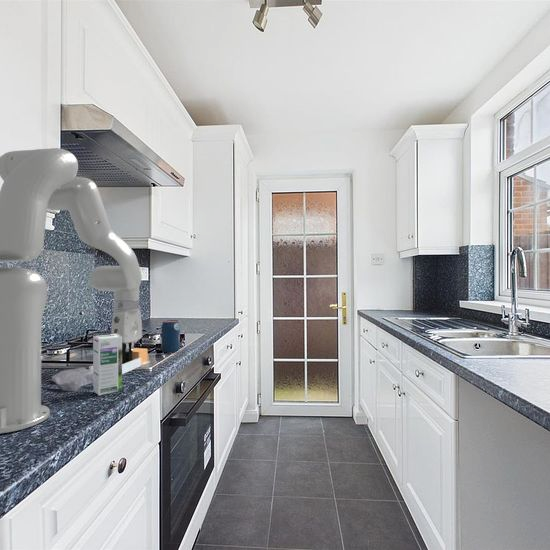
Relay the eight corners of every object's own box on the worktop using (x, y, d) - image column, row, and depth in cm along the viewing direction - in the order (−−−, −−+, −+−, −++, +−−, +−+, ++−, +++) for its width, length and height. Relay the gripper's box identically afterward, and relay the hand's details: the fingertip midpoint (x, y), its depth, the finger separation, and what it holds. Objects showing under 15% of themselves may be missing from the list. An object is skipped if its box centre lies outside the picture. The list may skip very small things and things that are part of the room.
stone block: (72, 400, 91) (107, 382, 99) (68, 383, 90) (103, 366, 99) (47, 394, 97) (82, 377, 105) (43, 377, 96) (78, 362, 105)
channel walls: (114, 380, 101) (114, 368, 101) (88, 378, 103) (88, 366, 103) (141, 368, 114) (141, 357, 114) (117, 367, 116) (117, 356, 116)
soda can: (183, 351, 139) (183, 321, 139) (167, 354, 134) (167, 322, 134) (173, 348, 144) (173, 319, 144) (157, 351, 139) (158, 321, 139)
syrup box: (98, 396, 88) (98, 338, 88) (92, 390, 93) (92, 334, 93) (122, 391, 92) (122, 335, 92) (115, 385, 97) (116, 332, 96)
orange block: (138, 364, 116) (138, 351, 116) (125, 363, 117) (125, 351, 117) (147, 360, 120) (147, 348, 120) (134, 359, 122) (134, 348, 122)
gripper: (122, 308, 105) (121, 370, 105) (150, 304, 120) (149, 358, 120) (100, 307, 106) (99, 368, 107) (130, 303, 121) (130, 357, 121)
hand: (126, 363), depth 113 cm, fingers closed
